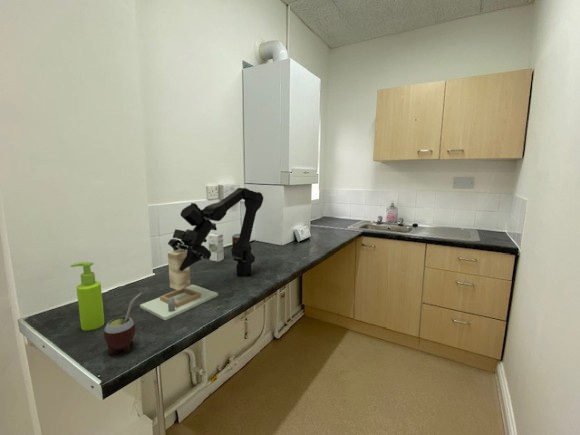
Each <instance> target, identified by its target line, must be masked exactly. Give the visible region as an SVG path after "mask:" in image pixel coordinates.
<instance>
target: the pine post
mask: <svg viewBox="0 0 580 435" xmlns="http://www.w3.org/2000/svg"><path fill="white" fill-rule="evenodd" d="M186 256H187V250H186V251H185V250H181V249H179V250H175V251H174V250H172V251H168V252H167V262H168V278H169V279H168V280H169V288H171V289H174V290H181V289H183V288H186V287H189V286H190V285H191V273H190V272H191V271H190V270H191V269H190V268H191V267H190V266H189V267H187V268H186V269H184V270H183V271H180V270H179V269H180V267H181V265H182V263H183V261H184V260H185V258H186Z"/></svg>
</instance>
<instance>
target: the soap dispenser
mask: <svg viewBox="0 0 580 435" xmlns="http://www.w3.org/2000/svg"><path fill="white" fill-rule="evenodd" d="M92 265H94V262H92V261H90V262H89V261H87V262H86V261H80V262H76V263H73V264H71V265H70V267H71V268H74V267H82V269H83V272H82V273H81V274H80V282H81V284H79V285H76V294H77V303H78V304H77V305H78V313H79V320H80V321H79V322H80V329H81V330H82V331H87V332H88V331H92V330H93V331H94V330H96V329H99V328H101V327H102V326H104V324H105V314H104V304H103V294H102V293H103V292H102V285H101V282H100V281H96V276H95V274H96V273H95V272H94V271H92V270H91V266H92Z"/></svg>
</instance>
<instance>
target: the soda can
mask: <svg viewBox="0 0 580 435" xmlns="http://www.w3.org/2000/svg"><path fill="white" fill-rule="evenodd" d="M239 237H240V233H235V234H233V235H232V236H231V239H232V241H231V242H232V243H231V244H232V247H233V243H234V242H237V241H238V240H239ZM232 247H231V248H232Z"/></svg>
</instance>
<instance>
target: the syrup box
mask: <svg viewBox="0 0 580 435" xmlns="http://www.w3.org/2000/svg"><path fill="white" fill-rule="evenodd" d="M207 237H208V250H209V251H210V252H211V257H210V258H209V261H210V262H211V261H212V262H216V263H217V262H221V261H222V260H224V259H225V258H224V256H225V255H224V254H225V253H224V233H221V232H211V233H209V234H208V235H207Z"/></svg>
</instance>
